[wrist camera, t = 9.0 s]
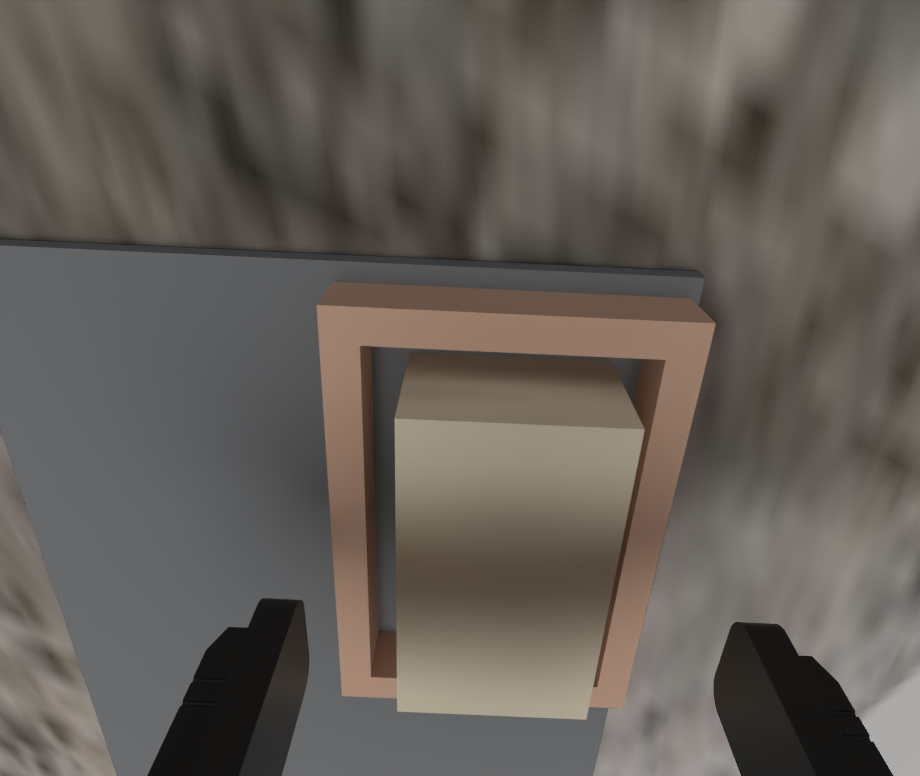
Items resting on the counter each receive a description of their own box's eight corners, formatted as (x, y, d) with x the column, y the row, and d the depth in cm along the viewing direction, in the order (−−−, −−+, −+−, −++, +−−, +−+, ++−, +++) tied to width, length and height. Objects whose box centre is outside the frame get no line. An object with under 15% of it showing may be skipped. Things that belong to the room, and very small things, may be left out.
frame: (332, 281, 13) (316, 304, 12) (691, 298, 13) (715, 323, 12) (351, 650, 18) (342, 696, 17) (611, 661, 18) (622, 708, 17)
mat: (-45, 236, 13) (-63, 242, 13) (697, 271, 13) (705, 277, 13) (134, 793, 22) (128, 808, 22) (578, 813, 22) (581, 828, 22)
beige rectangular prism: (568, 620, 17) (586, 719, 15) (408, 613, 17) (397, 711, 15) (611, 361, 14) (644, 429, 11) (410, 352, 14) (394, 418, 11)
